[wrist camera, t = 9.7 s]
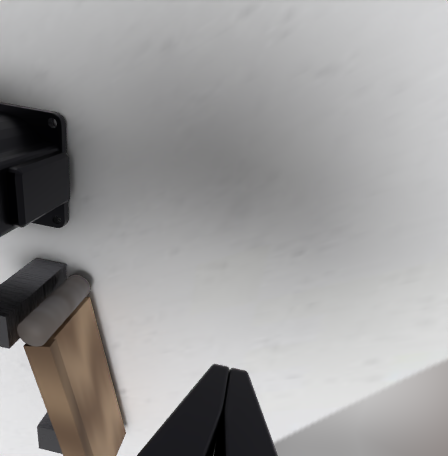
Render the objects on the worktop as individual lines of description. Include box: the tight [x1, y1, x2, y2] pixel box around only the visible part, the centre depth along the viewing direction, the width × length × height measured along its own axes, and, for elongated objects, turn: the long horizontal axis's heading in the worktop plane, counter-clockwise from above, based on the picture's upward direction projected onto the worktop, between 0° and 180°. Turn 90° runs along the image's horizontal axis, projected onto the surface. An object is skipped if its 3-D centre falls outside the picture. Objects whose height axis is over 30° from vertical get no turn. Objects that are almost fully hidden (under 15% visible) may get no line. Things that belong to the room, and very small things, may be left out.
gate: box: [17, 275, 126, 456], centre depth 23 cm, size 14×2×5 cm, turn 5°
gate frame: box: [0, 258, 67, 454], centre depth 22 cm, size 2×12×6 cm, turn 7°
